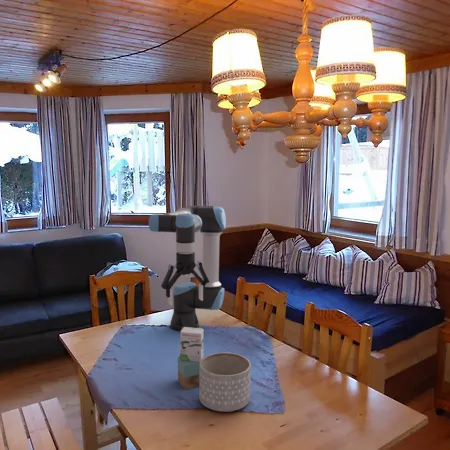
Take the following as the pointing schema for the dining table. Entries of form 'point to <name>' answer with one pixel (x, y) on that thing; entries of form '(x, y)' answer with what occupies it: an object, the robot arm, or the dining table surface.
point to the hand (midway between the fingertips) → (185, 302)
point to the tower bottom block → (188, 381)
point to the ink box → (191, 344)
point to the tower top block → (188, 367)
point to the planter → (224, 381)
